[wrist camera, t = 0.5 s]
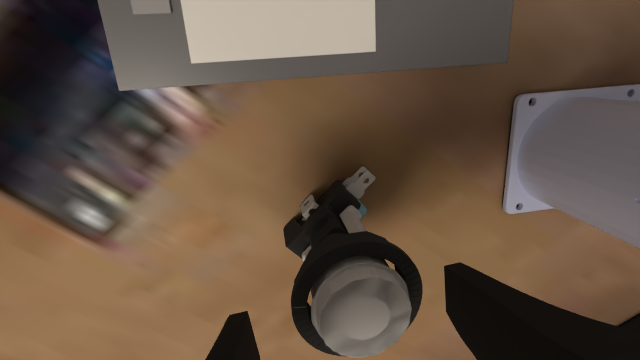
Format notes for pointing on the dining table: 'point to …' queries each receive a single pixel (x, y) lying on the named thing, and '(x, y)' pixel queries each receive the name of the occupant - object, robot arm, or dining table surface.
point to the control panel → (296, 38)
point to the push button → (349, 276)
